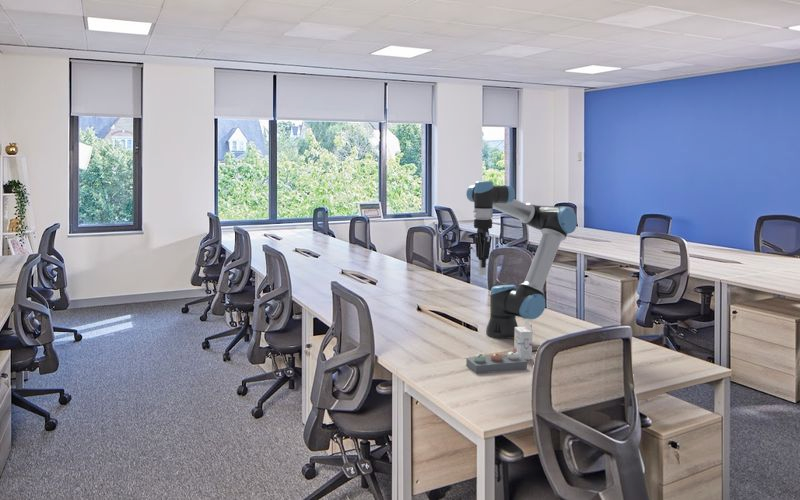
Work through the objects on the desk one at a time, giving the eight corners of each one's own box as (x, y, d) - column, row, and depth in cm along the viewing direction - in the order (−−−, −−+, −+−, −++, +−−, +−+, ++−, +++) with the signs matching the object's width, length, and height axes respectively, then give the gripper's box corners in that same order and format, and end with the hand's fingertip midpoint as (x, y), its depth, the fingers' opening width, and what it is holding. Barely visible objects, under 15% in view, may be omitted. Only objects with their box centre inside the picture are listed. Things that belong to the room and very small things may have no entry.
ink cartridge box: (513, 354, 263) (514, 319, 261) (524, 353, 264) (525, 319, 262) (520, 360, 255) (521, 324, 253) (532, 359, 256) (533, 324, 254)
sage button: (482, 358, 246) (482, 353, 246) (487, 362, 242) (487, 356, 242) (472, 359, 245) (472, 354, 245) (476, 363, 241) (476, 357, 240)
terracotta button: (499, 357, 248) (499, 352, 248) (504, 360, 244) (504, 355, 243) (489, 358, 247) (489, 352, 247) (493, 361, 243) (493, 356, 242)
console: (515, 361, 253) (515, 354, 253) (527, 368, 244) (527, 361, 243) (466, 365, 248) (466, 358, 247) (476, 373, 238) (476, 365, 238)
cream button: (515, 356, 250) (516, 350, 250) (520, 359, 246) (521, 353, 245) (505, 357, 249) (505, 351, 248) (510, 360, 244) (510, 354, 244)
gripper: (468, 217, 267) (467, 272, 270) (480, 219, 254) (479, 278, 257) (485, 217, 269) (484, 272, 272) (498, 219, 256) (496, 277, 259)
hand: (482, 275), depth 264 cm, fingers closed
